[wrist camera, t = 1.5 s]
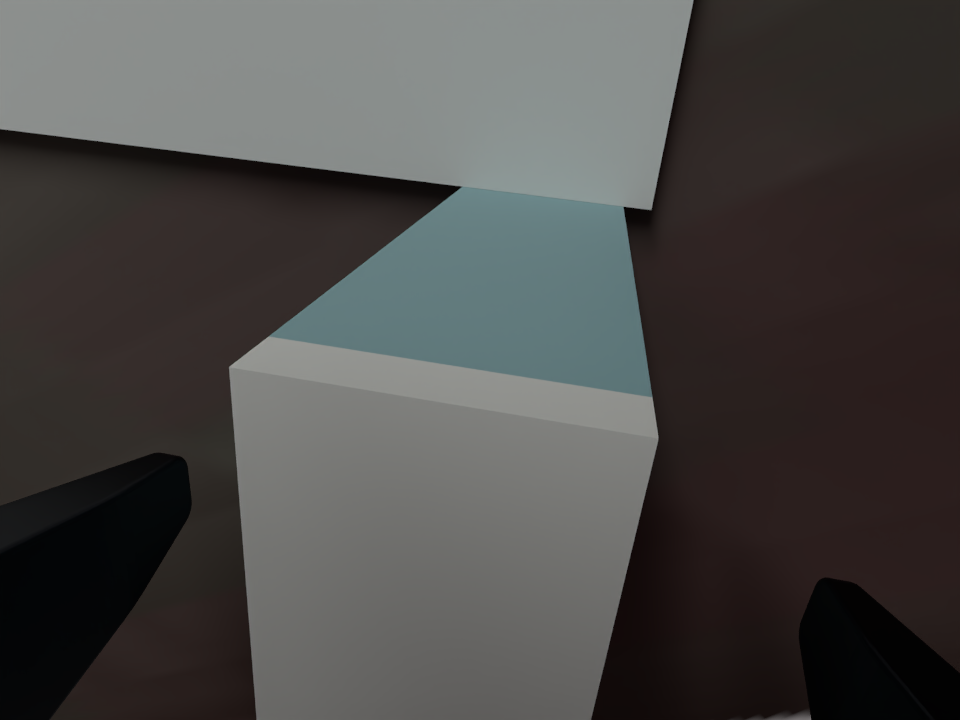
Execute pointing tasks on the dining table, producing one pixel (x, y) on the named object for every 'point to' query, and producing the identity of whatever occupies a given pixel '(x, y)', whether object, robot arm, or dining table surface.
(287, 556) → the slab
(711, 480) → the dining table surface
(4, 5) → the mat
